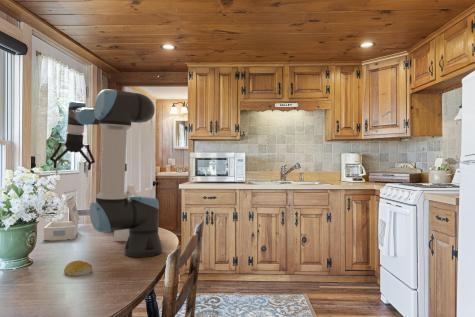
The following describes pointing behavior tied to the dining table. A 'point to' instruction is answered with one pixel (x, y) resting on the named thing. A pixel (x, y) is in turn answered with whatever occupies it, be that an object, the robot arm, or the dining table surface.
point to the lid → (73, 210)
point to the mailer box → (60, 231)
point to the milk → (123, 234)
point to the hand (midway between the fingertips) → (71, 175)
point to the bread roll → (78, 268)
